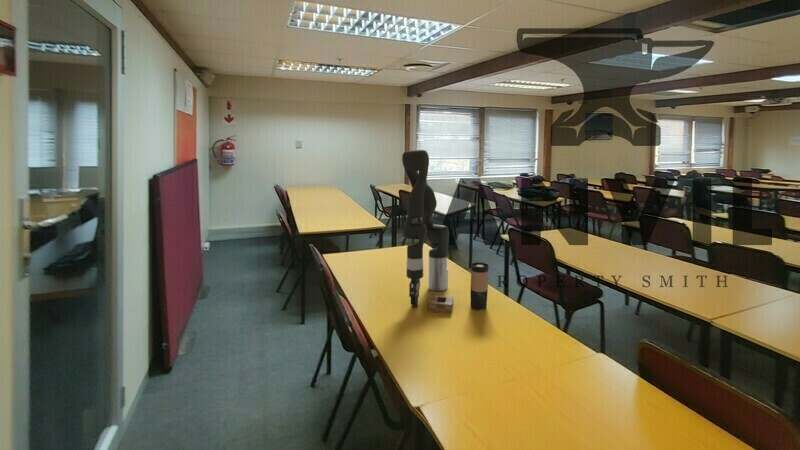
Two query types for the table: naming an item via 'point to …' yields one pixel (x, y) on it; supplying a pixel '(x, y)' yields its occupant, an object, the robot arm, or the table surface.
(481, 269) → the travel mug
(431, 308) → the slot block
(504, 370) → the table surface
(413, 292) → the pin
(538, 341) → the table surface
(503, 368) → the table surface
